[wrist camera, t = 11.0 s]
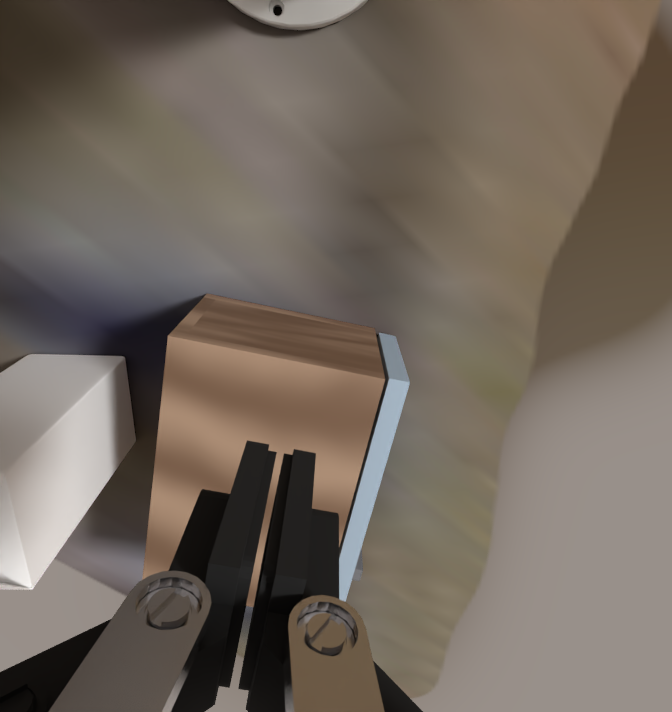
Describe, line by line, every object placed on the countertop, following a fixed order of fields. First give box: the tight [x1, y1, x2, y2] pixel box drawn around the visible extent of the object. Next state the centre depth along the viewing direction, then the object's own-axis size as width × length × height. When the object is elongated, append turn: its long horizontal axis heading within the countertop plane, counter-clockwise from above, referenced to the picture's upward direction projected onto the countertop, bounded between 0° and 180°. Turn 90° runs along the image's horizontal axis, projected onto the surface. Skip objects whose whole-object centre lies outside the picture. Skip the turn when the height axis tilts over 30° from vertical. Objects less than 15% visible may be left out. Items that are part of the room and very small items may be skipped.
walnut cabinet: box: [142, 294, 385, 607], centre depth 36 cm, size 18×12×9 cm, turn 168°
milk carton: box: [0, 354, 136, 590], centre depth 30 cm, size 7×7×19 cm
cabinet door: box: [339, 333, 410, 601], centre depth 36 cm, size 18×2×8 cm, turn 168°
